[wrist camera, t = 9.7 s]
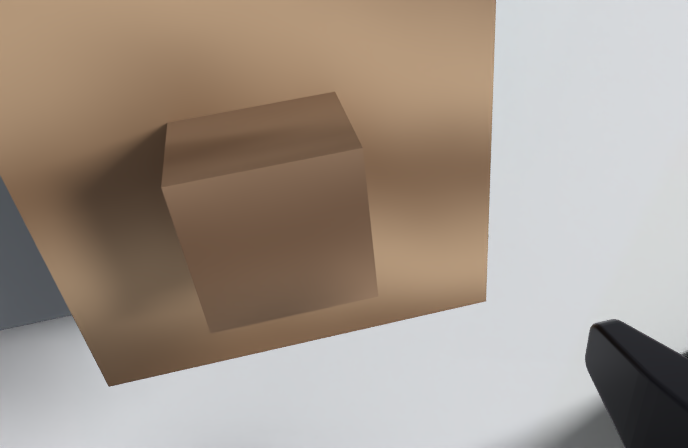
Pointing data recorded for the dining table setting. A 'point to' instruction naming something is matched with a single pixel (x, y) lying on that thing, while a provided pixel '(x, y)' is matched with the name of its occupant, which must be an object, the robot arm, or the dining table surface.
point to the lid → (248, 167)
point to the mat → (24, 273)
